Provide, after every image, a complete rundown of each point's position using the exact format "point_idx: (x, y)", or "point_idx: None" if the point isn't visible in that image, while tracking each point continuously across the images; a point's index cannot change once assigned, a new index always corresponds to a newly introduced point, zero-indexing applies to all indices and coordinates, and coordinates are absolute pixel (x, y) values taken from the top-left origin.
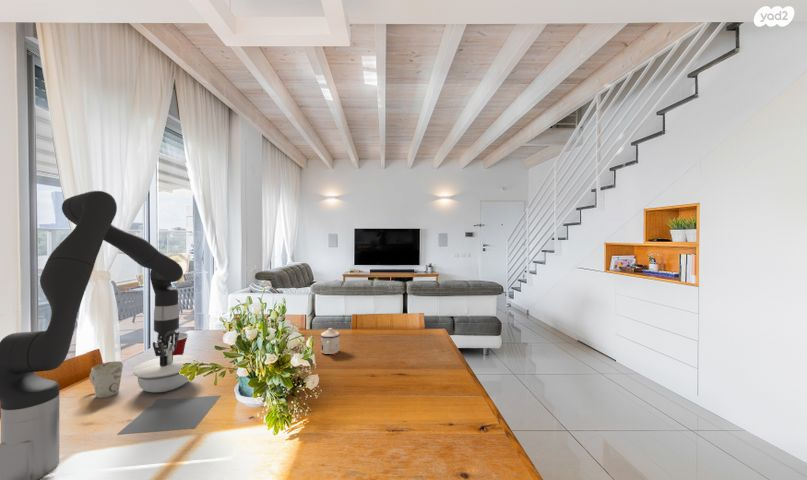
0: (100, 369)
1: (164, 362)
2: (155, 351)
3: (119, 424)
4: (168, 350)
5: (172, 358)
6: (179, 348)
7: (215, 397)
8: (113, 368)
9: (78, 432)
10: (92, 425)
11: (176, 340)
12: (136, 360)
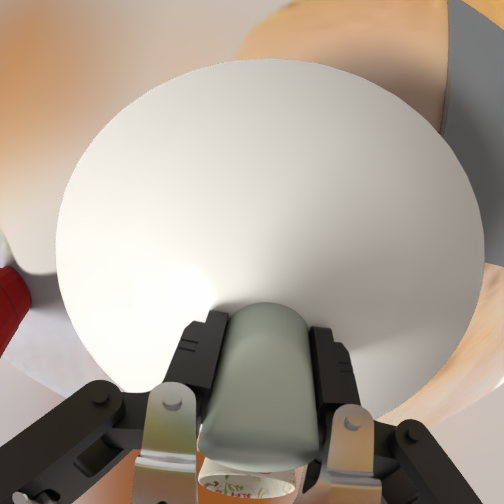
0: (225, 477)
1: (346, 361)
2: (416, 493)
3: (498, 296)
4: (269, 445)
5: (211, 328)
6: None
7: (465, 14)
8: (284, 478)
9: (474, 360)
10: (462, 353)
11: (50, 455)
12: (35, 372)
